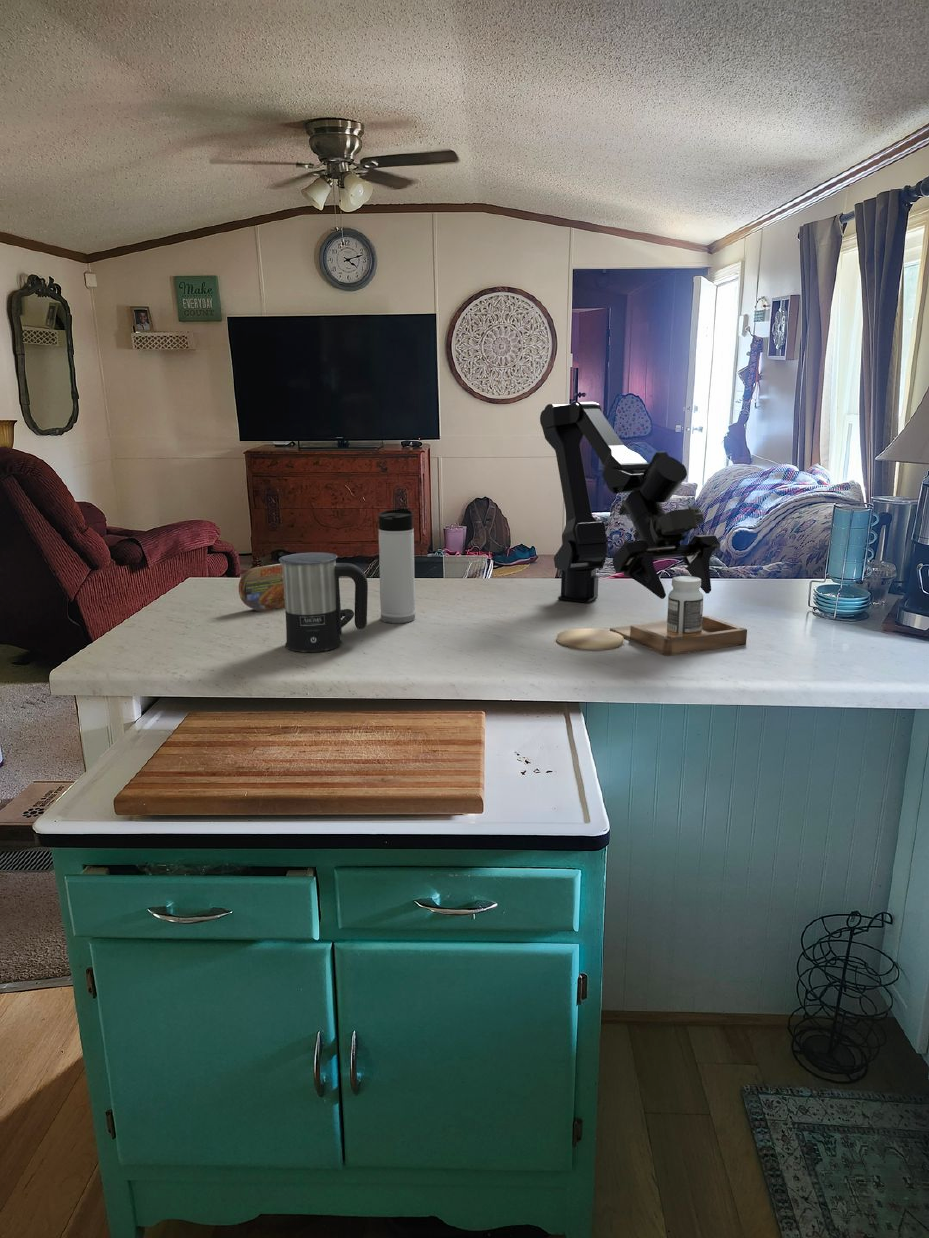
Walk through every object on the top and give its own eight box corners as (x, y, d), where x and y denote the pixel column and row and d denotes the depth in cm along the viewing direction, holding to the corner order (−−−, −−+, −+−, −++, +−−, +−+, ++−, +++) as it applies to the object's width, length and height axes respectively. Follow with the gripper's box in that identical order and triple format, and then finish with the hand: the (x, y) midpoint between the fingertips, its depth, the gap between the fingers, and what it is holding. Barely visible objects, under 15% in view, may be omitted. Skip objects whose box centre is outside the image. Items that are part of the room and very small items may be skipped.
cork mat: (547, 644, 144) (547, 641, 144) (570, 628, 154) (570, 625, 153) (611, 653, 139) (612, 649, 139) (631, 636, 149) (631, 633, 149)
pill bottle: (702, 633, 148) (705, 576, 146) (700, 642, 143) (703, 582, 140) (667, 631, 150) (670, 574, 147) (664, 640, 144) (667, 581, 142)
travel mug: (421, 616, 162) (420, 508, 157) (404, 625, 156) (402, 513, 151) (392, 613, 164) (390, 506, 159) (374, 621, 159) (371, 511, 154)
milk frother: (293, 656, 138) (288, 564, 134) (267, 632, 151) (261, 548, 148) (377, 645, 144) (375, 556, 140) (345, 623, 158) (342, 541, 154)
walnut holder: (609, 631, 152) (610, 617, 151) (684, 621, 158) (685, 608, 158) (666, 655, 138) (667, 640, 137) (746, 644, 144) (747, 629, 144)
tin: (245, 614, 164) (242, 570, 162) (237, 611, 166) (234, 567, 164) (315, 602, 173) (313, 560, 171) (308, 599, 176) (306, 558, 173)
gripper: (625, 492, 141) (663, 571, 134) (717, 487, 149) (757, 562, 142) (596, 534, 150) (631, 610, 143) (684, 527, 158) (721, 599, 151)
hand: (686, 594), depth 144 cm, fingers open, 9 cm apart
